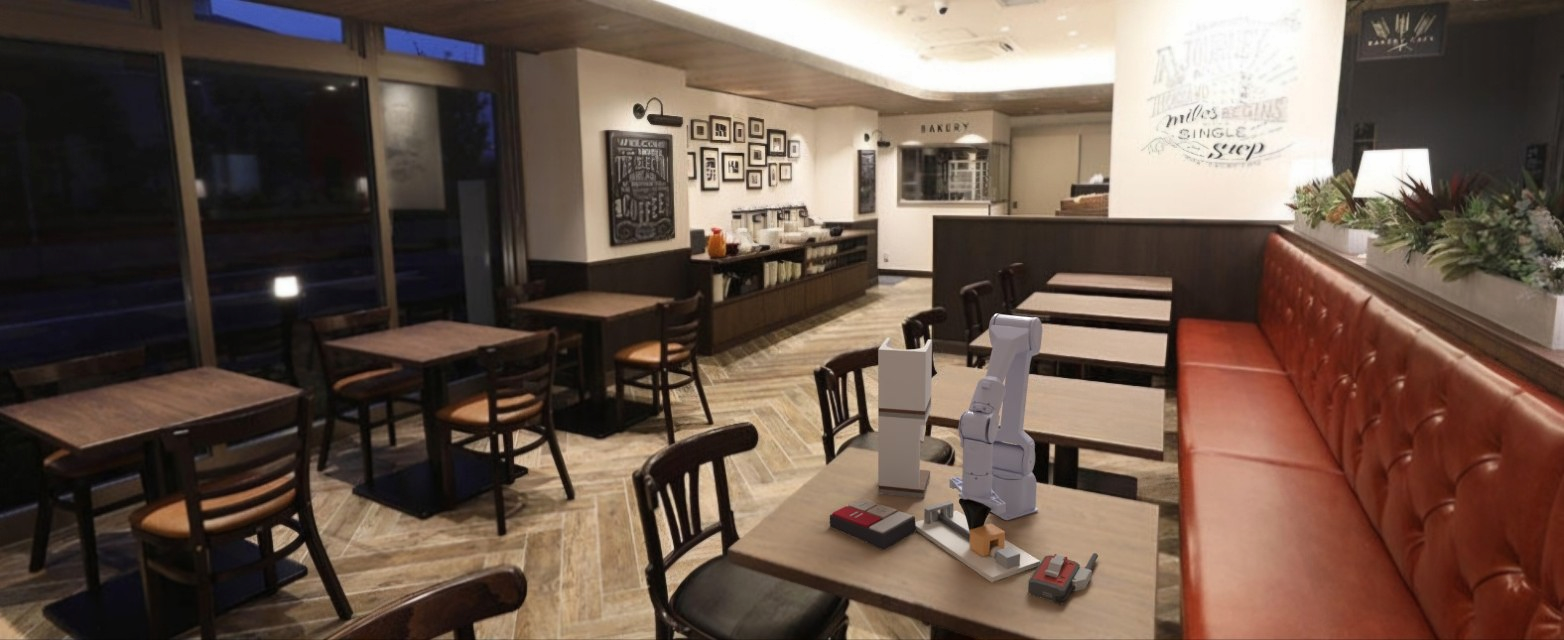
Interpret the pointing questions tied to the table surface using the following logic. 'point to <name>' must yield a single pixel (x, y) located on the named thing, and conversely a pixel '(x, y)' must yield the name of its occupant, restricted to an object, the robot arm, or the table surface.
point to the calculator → (873, 523)
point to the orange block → (986, 539)
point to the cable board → (955, 539)
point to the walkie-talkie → (1059, 577)
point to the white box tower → (903, 418)
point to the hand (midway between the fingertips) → (975, 532)
